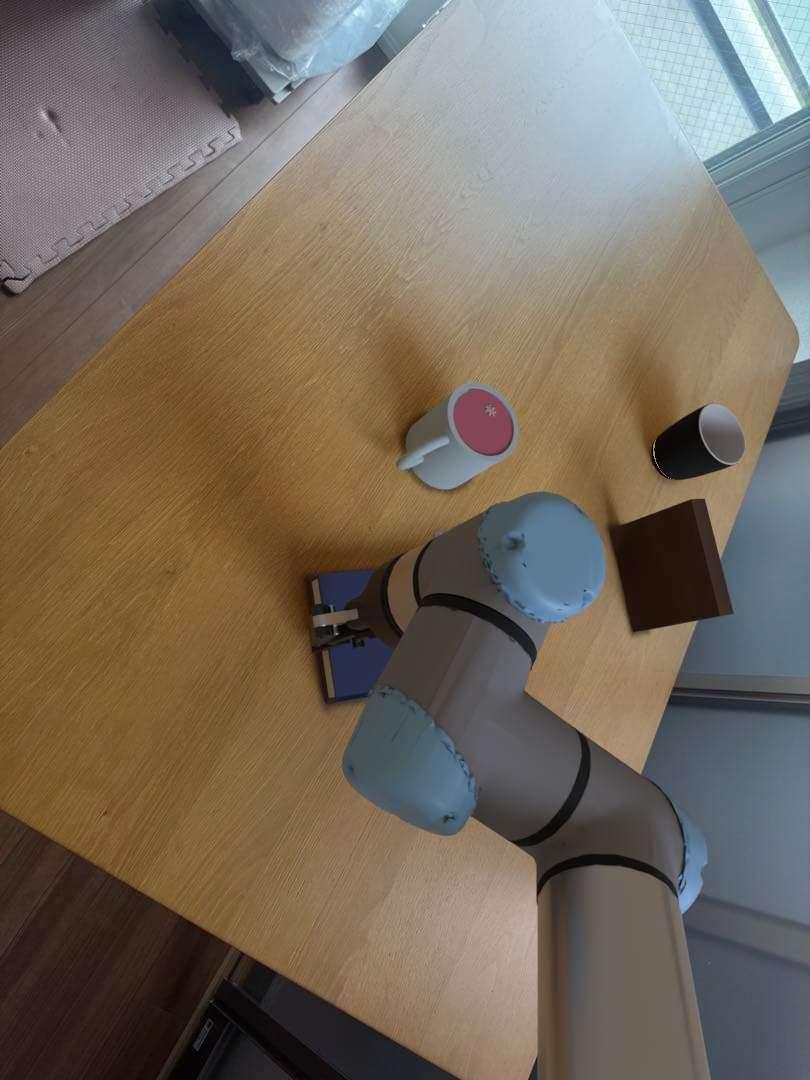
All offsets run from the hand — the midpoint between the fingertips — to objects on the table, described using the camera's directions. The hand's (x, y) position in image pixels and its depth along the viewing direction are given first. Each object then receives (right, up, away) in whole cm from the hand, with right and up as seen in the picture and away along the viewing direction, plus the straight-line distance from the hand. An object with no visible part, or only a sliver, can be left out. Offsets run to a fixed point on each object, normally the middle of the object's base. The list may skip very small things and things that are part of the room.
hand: (316, 638), depth 74 cm
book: (+10, 0, +8) cm, 13 cm away
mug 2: (+48, +23, +34) cm, 63 cm away
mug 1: (+11, +20, +14) cm, 26 cm away
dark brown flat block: (+39, +5, +24) cm, 46 cm away
